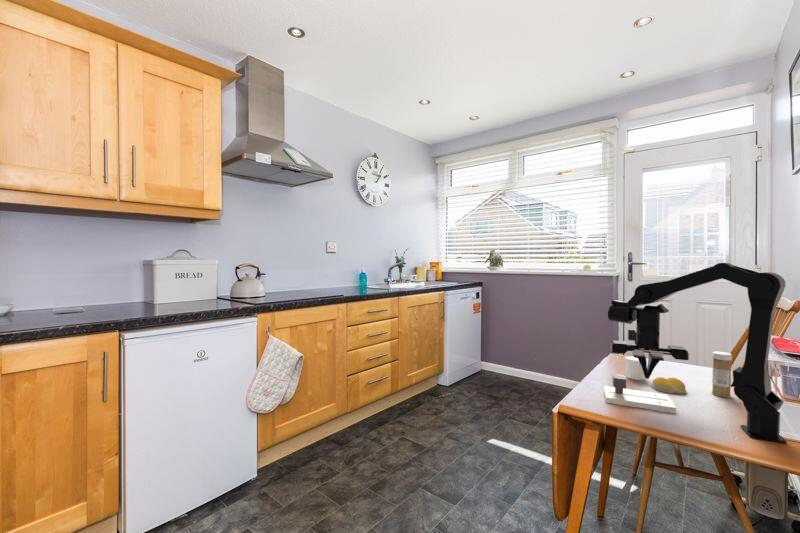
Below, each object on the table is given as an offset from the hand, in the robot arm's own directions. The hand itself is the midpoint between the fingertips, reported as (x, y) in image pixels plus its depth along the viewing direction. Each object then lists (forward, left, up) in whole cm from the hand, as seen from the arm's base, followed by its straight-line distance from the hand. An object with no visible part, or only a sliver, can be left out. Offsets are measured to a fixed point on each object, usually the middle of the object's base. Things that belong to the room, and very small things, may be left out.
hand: (646, 378), depth 109 cm
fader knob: (0, +7, -5) cm, 9 cm away
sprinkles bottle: (+17, -22, -7) cm, 29 cm away
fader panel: (0, +2, -7) cm, 8 cm away
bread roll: (+16, -9, -8) cm, 20 cm away
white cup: (+25, 0, -7) cm, 26 cm away
